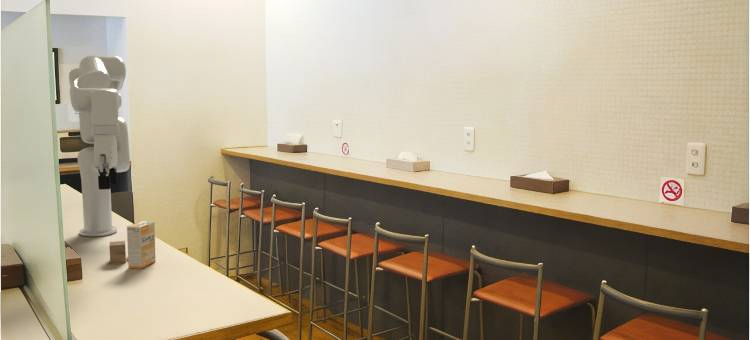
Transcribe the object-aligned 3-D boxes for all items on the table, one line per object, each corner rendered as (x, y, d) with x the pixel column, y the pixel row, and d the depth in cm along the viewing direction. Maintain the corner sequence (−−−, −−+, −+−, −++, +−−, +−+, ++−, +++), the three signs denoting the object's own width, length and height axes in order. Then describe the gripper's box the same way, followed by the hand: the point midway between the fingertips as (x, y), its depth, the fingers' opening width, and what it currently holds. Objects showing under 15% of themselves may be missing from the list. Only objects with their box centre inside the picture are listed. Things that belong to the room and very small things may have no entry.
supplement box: (142, 269, 194) (140, 227, 192) (127, 268, 195) (126, 226, 193) (156, 261, 202) (155, 221, 200) (142, 260, 203) (141, 220, 201)
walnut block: (110, 260, 203) (109, 241, 202) (125, 259, 204) (125, 240, 203) (110, 264, 199) (109, 245, 198) (125, 263, 200) (125, 244, 199)
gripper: (99, 128, 201) (102, 182, 203) (84, 133, 184) (87, 191, 186) (124, 128, 202) (127, 181, 205) (112, 132, 185) (115, 191, 188)
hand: (108, 186), depth 196 cm, fingers open, 9 cm apart
